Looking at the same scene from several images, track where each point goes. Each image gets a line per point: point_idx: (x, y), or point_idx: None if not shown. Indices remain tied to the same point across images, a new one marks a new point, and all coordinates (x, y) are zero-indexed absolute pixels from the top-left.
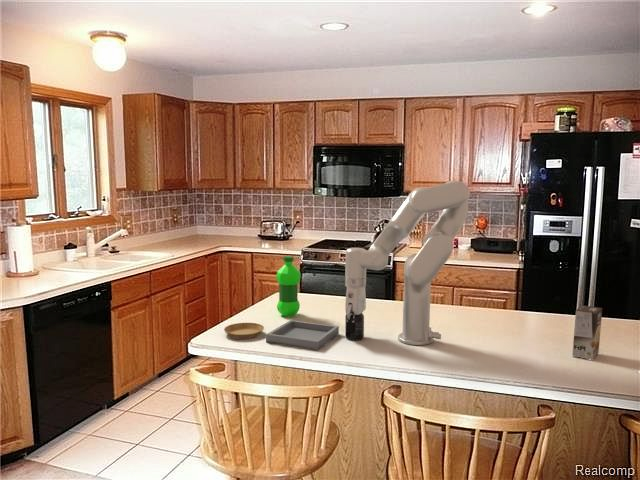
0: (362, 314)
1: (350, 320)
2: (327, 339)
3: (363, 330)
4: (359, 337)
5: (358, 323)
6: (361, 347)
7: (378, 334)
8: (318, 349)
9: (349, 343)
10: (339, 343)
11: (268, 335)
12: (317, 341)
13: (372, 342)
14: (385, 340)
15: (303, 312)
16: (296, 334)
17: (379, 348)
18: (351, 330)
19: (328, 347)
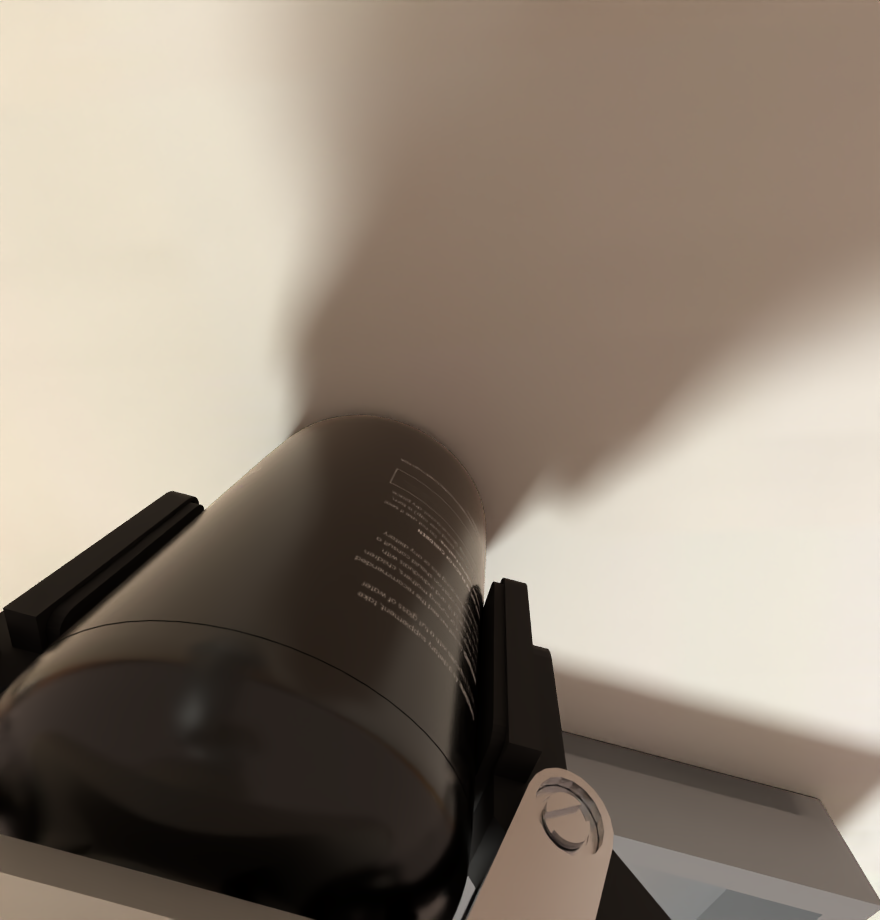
0: (149, 762)
1: (641, 916)
2: (590, 771)
3: (361, 462)
4: (460, 476)
5: (449, 652)
6: (749, 417)
7: (104, 203)
8: (803, 797)
9: (584, 559)
10: (593, 648)
11: None
12: (868, 908)
13: (507, 272)
14: (360, 32)
15: None
16: None
17: (826, 114)
18: (547, 659)
19: (730, 729)
